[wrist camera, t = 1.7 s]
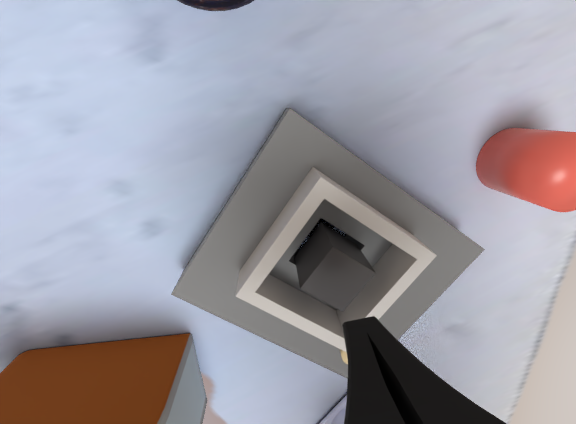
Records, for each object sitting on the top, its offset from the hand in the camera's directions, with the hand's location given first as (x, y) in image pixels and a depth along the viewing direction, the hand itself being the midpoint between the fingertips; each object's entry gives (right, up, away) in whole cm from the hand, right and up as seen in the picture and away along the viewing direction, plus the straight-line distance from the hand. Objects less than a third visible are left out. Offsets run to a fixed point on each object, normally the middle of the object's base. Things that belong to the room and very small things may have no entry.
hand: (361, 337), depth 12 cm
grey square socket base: (0, +2, +10) cm, 10 cm away
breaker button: (-1, +3, +7) cm, 8 cm away
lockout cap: (+13, +9, +9) cm, 18 cm away
